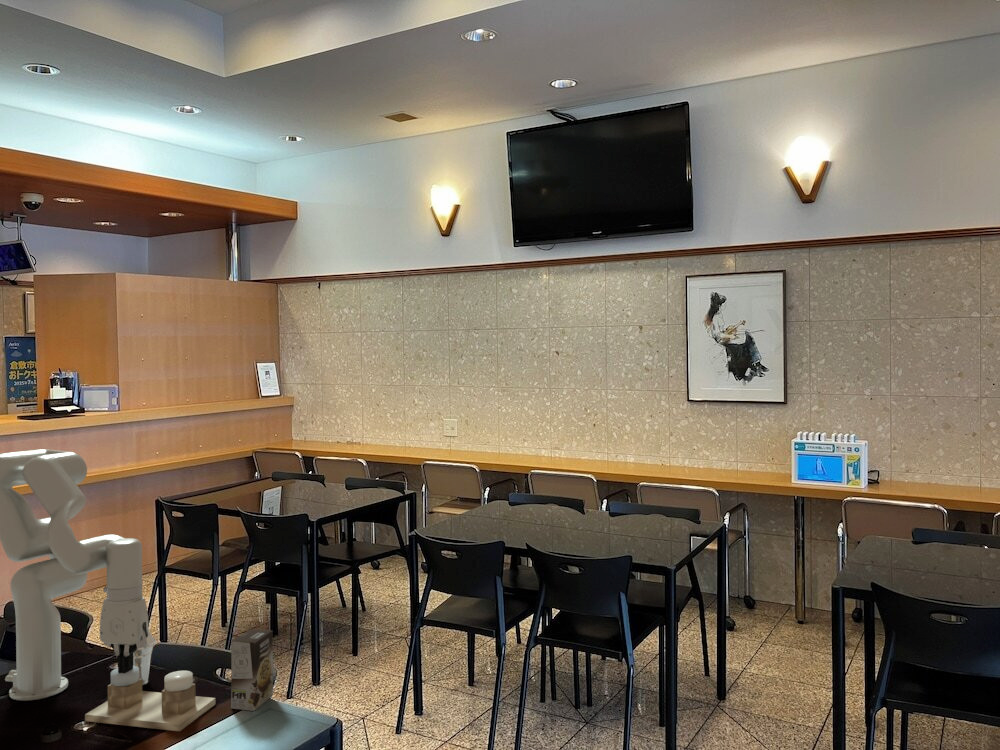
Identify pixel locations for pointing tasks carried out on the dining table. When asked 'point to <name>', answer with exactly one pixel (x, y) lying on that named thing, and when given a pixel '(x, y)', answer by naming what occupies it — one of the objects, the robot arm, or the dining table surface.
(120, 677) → the knob
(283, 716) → the dining table surface
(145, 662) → the cup with straw
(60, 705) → the dining table surface
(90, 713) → the wooden mounting board
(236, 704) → the coffee box
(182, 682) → the knob
